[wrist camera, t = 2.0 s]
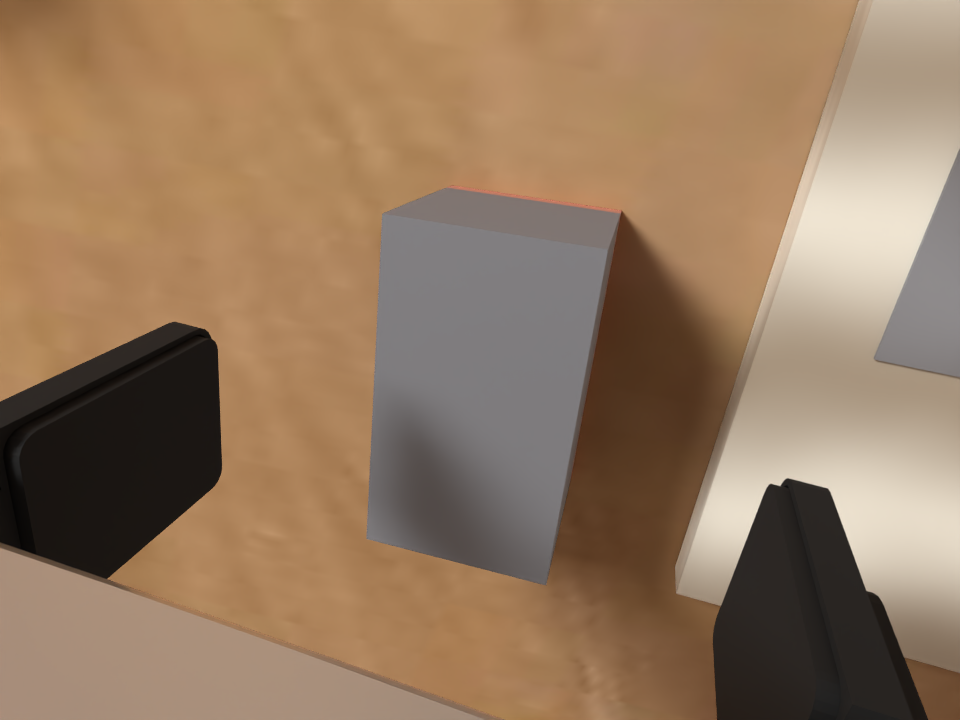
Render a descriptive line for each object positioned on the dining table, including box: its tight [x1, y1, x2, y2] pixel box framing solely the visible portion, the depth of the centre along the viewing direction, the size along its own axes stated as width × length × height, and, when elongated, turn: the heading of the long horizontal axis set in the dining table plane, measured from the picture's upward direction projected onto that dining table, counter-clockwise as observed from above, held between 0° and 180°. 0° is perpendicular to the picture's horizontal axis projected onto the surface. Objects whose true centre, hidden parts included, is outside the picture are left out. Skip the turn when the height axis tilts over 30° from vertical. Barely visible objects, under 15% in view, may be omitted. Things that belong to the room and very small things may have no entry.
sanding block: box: [367, 186, 621, 585], centre depth 17 cm, size 8×4×5 cm, turn 174°
